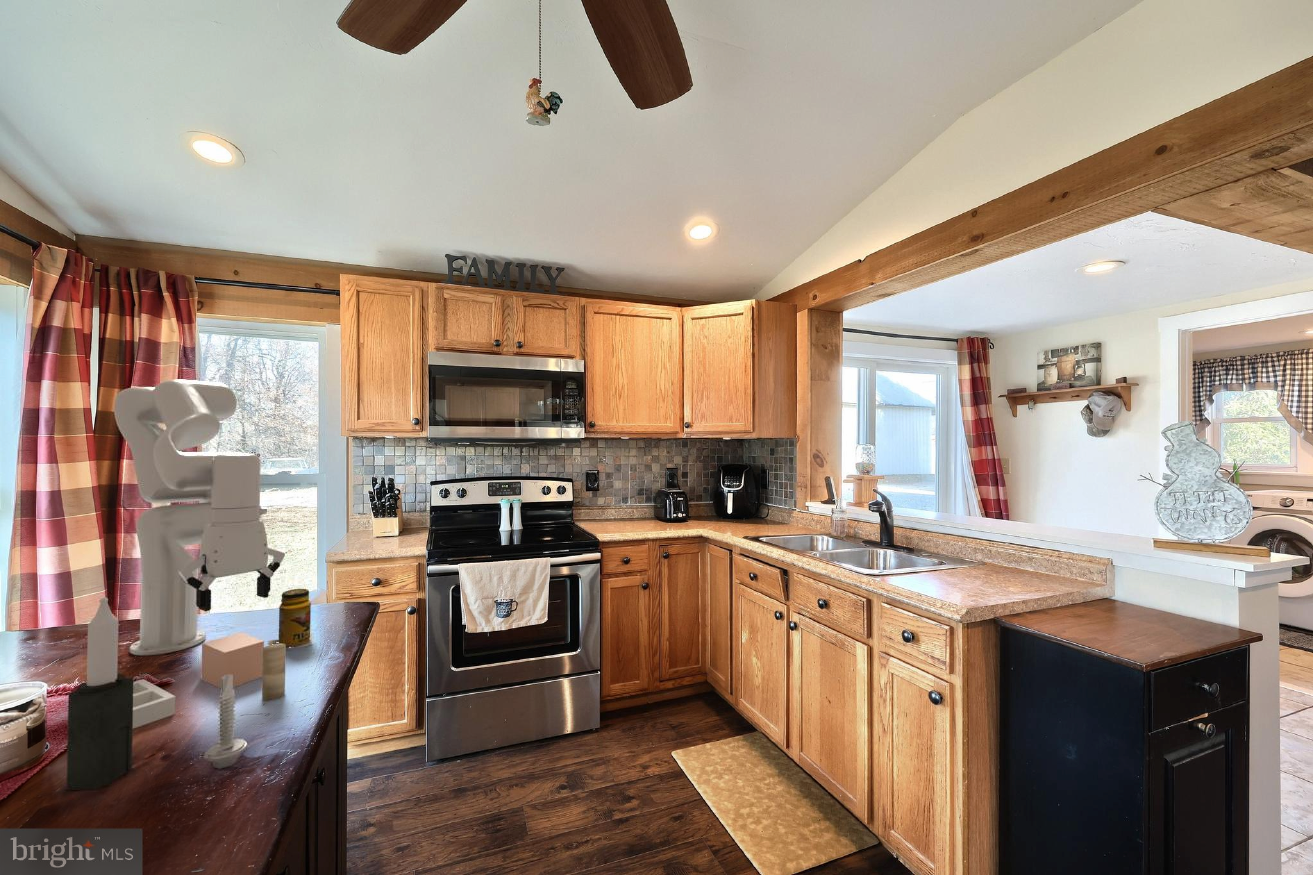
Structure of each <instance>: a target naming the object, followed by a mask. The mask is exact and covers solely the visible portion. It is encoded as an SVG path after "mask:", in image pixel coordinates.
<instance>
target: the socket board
mask: <svg viewBox="0 0 1313 875" xmlns="http://www.w3.org/2000/svg"><path fill="white" fill-rule="evenodd" d="M175 714H176V695H173V694H172V693H170V692H168V691H167V690H164V689H162V688H161V687H159V686H157V685H155V684H153V683H151V682H150V681H147V680H146V679H145V678H144V679H143V678H142V679H139V680H136V681H134V682H133V729H134V730H135V729H136V728H140V727H142V726H144V725H147V724H150V723H153V722H156V721H159V720H162V719H165V718H168V717H171V716H173V715H175Z"/></svg>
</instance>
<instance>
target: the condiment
mask: <svg viewBox="0 0 1313 875" xmlns="http://www.w3.org/2000/svg"><path fill="white" fill-rule="evenodd" d="M280 602H281V603H280V605H279V608H278V612H279V613H278V639H271V640H267V645H272V644H285V645H286V650H288V649H289V650H290V649H292V648H289V647H296V648H301V647H302V648H303V647H308V646H311V645H312V644H313V635H312V634H311V620H312V619H311V617H312V616H311V612H312V611H311V610H312V608H311V607H312V602H311V601H310V591H309V589H307V588H294V589H289V590H285V591H283V592H282V594H281V599H280ZM276 642H279V643H276Z"/></svg>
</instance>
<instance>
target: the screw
mask: <svg viewBox="0 0 1313 875" xmlns="http://www.w3.org/2000/svg"><path fill="white" fill-rule="evenodd" d="M233 688H234V687H233V675H229V674H227V675H225V676H223V677H222V679H221V688H220V695H218V697H219V699H218V702H219V703H218V706H219V707H218V710H219V711H218V714H219V715H218V718H219V719H218V720H217V722H218V725H217V726H218V727H219V728H218V729H217V730H218V732H217V734H218V735H219V736H217V739H219V740H217V743H215V744H214V745H212V746H210V747H209V748H208V749H207V750H206V751H205V752H204V754H203V759H204V760H205V761H208V762H212V767H213V768H216V769H218V770H222V769H224V768H228V767H231V766H232V765H234V764H235V763H236V762H237V761H238V760H239V754H241V753H242V752H244V751H245V749H247V747H248V743H247V741H246V740H244V739H243V738H234V737H235V724H236V723H235V720H236V719H235V716H236V714H235V711H236V710H235V707H236V706H235V705H236V702H235V700H236V698H235V697H236V694H235V693H234V692H235V691H236V690H235V689H233Z"/></svg>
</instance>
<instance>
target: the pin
mask: <svg viewBox="0 0 1313 875" xmlns="http://www.w3.org/2000/svg"><path fill="white" fill-rule="evenodd" d="M286 650H287V649H286V645H285V644H273V645H269V646H267V645H266V646H264V648H263V670H262V677H261V678H262V682H261V683H262V684H261V700H262V701H265V702H270V701H275V700H278V699H280V698H282V697H284V696H285V694H286V660H287V659H286V658H287V657H286V656H287V655H286V654H287V653H286V652H287V651H286Z"/></svg>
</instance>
